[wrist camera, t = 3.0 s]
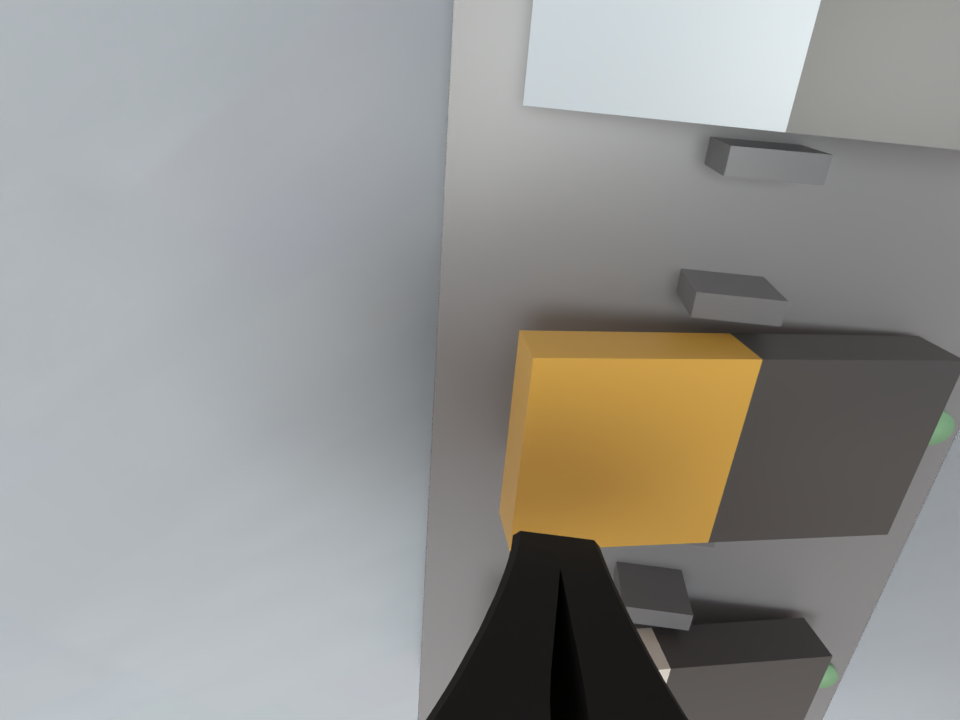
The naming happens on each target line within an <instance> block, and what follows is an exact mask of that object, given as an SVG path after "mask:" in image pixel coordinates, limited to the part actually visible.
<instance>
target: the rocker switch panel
mask: <svg viewBox="0 0 960 720" xmlns="http://www.w3.org/2000/svg"><path fill="white" fill-rule="evenodd" d="M532 7H533V0H454V10H453V30H452V50H451V69H450V89H449V109H448V129H447V149H446V169H445V189H444V208H443V228H442V248H441V268H440V288H439V308H438V328H437V347H436V367H435V387H434V407H433V427H432V447H431V467H430V486H429V506H428V526H427V546H426V566H425V586H424V606H423V625H422V645H421V665H420V685H419V705H418V720H426V719H427V717H428V716H429V714H430V713H431V711H432V710H433V708H434V707H435V705H436V703H437V702H438V700H439V699H440V697H441V695H442V694H443V692H444V691H445V689H446V687H447V686H448V684H449V682H450V681H451V679H452V677H453V676H454V674H455V672H456V671H457V669H458V667H459V665H460V663H461V662H462V660H463V658H464V656H465V654H466V652H467V651H468V649H469V647H470V645H471V643H472V642H473V640H474V638H475V636H476V634H477V632H478V630H479V628H480V626H481V624H482V622H483V620H484V618H485V616H486V613H487V611H488V609H489V607H490V605H491V603H492V600H493V598H494V596H495V594H496V592H497V589H498V586H499V584H500V581H501V579H502V576H503V573H504V571H505V568H506V565H507V562H508V558H509V554H510V551H509V548H508V544H507V540H506V536H505V533H504V529H503V525H502V521H501V517H500V513H499V509H500V500H501V491H502V482H503V473H504V464H505V455H506V446H507V437H508V428H509V419H510V410H511V401H512V392H513V383H514V374H515V365H516V356H517V347H518V338H519V330H528V331H599V332H671V333H742V334H814V335H885V336H920V337H921V338H923V339H925V340H927V341H929V342H931V343H933V344H935V345H937V346H939V347H941V348H942V349H944V350H946V351H948V352H950V353H952V354H954V355H956V356H958V357H960V150H953V149H943V148H934V147H924V146H914V145H904V144H895V143H885V142H875V141H865V140H855V139H846V138H836V137H826V136H816V135H807V134H797V133H787V132H777V131H768V130H758V129H748V128H738V127H729V126H719V125H709V124H699V123H689V122H680V121H670V120H660V119H650V118H641V117H631V116H621V115H611V114H602V113H592V112H582V111H572V110H563V109H553V108H543V107H533V106H523V100H524V89H525V79H526V69H527V59H528V48H529V38H530V28H531V18H532ZM959 428H960V375H959V378H958V380H957V382H956V384H955V386H954V389H953V391H952V393H951V395H950V397H949V400H948V402H947V404H946V406H945V409H944V411H943V413H942V415H941V417H940V420H939V422H938V424H937V426H936V429H935V431H934V433H933V435H932V437H931V440H930V442H929V444H928V446H927V448H926V451H925V453H924V455H923V457H922V460H921V462H920V464H919V466H918V468H917V471H916V473H915V475H914V477H913V480H912V482H911V484H910V486H909V488H908V491H907V493H906V495H905V497H904V499H903V502H902V504H901V506H900V508H899V511H898V513H897V515H896V517H895V519H894V522H893V524H892V526H891V528H890V530H889V533H888V535H869V536H846V537H823V538H801V539H778V540H755V541H732V542H709V543H686V544H663V545H641V546H618V547H600V549H601V552H602V555H603V557H604V560H605V562H606V565H607V567H608V570H609V572H610V574H611V577H612V579H613V581H614V584H615V586H616V588H617V590H618V592H619V595H620V597H621V599H622V601H623V603H624V605H625V607H626V609H627V611H628V613H629V616H630V618H631V620H632V622H633V624H634V625H635V627H636V629H639V628H654V627H665V628H672V629H680V630H687V631H689V628H690V625H699V624H714V623H729V622H744V621H759V620H775V619H790V618H804V619H805V620H806V621H807V623H808V624H809V625H810V627H811V628H812V629H813V631H814V632H815V633H816V635H817V636H818V637H819V638H820V640H821V641H822V642H823V644H824V645H825V646H826V648H827V649H828V650H829V652H830V653H831V654H832V656H833V657H832V659H831V661H830V663H829V666H828V668H827V670H826V672H825V675H824V677H823V679H822V681H821V683H820V686H819V688H818V690H817V692H816V695H815V697H814V699H813V701H812V703H811V706H810V708H809V710H808V712H807V714H806V717H805V719H804V720H822V719H823V717H824V715H825V713H826V711H827V709H828V706H829V704H830V702H831V700H832V698H833V696H834V694H835V692H836V689H837V687H838V685H839V683H840V681H841V679H842V677H843V675H844V672H845V670H846V668H847V666H848V664H849V662H850V660H851V658H852V655H853V653H854V651H855V649H856V647H857V645H858V643H859V641H860V638H861V636H862V634H863V632H864V630H865V628H866V626H867V624H868V621H869V619H870V617H871V615H872V613H873V611H874V609H875V606H876V604H877V602H878V600H879V598H880V596H881V594H882V592H883V589H884V587H885V585H886V583H887V581H888V579H889V577H890V575H891V572H892V570H893V568H894V566H895V564H896V562H897V560H898V558H899V555H900V553H901V551H902V549H903V547H904V545H905V543H906V541H907V538H908V536H909V534H910V532H911V530H912V528H913V526H914V524H915V521H916V519H917V517H918V515H919V513H920V511H921V509H922V506H923V504H924V502H925V500H926V498H927V496H928V494H929V492H930V489H931V487H932V485H933V483H934V481H935V479H936V477H937V475H938V472H939V470H940V468H941V466H942V464H943V462H944V460H945V458H946V455H947V453H948V451H949V449H950V447H951V445H952V443H953V441H954V438H955V436H956V434H957V432H958V430H959Z"/></svg>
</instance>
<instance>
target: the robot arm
mask: <svg viewBox="0 0 960 720" xmlns="http://www.w3.org/2000/svg"><path fill="white" fill-rule="evenodd" d="M426 720H688V718H687V717H686V715H685V713H684V712H683V710H682V709H681V707H680V705H679V704H678V702H677V700H676V699H675V697H674V695H673V694H672V692H671V690H670V689H669V687H668V685H667V684H666V682H665V680H664V679H663V677H662V675H661V673H660V672H659V670H658V668H657V666H656V665H655V663H654V661H653V659H652V657H651V656H650V654H649V652H648V650H647V648H646V646H645V644H644V642H643V641H642V639H641V637H640V635H639V633H638V631H637V629H636V627H635V625H634V624H633V622H632V620H631V618H630V616H629V613H628V611H627V609H626V607H625V605H624V603H623V601H622V599H621V597H620V595H619V592H618V590H617V588H616V586H615V584H614V581H613V579H612V577H611V574H610V572H609V570H608V567H607V565H606V562H605V560H604V557H603V555H602V552H601V549H600V546H599V545H598V544H597V543H596V542H595V540H590V539H582V538H574V537H566V536H558V535H550V534H542V533H534V532H527V531H519V532H517V533H516V534H514V535H513V538H512V546H511V550H510V554H509V558H508V562H507V565H506V568H505V571H504V573H503V576H502V579H501V581H500V584H499V586H498V589H497V592H496V594H495V596H494V598H493V600H492V603H491V605H490V607H489V609H488V611H487V613H486V616H485V618H484V620H483V622H482V624H481V626H480V628H479V630H478V632H477V634H476V636H475V638H474V640H473V642H472V643H471V645H470V647H469V649H468V651H467V652H466V654H465V656H464V658H463V660H462V662H461V663H460V665H459V667H458V669H457V671H456V672H455V674H454V676H453V677H452V679H451V681H450V682H449V684H448V686H447V687H446V689H445V691H444V692H443V694H442V695H441V697H440V699H439V700H438V702H437V703H436V705H435V707H434V708H433V710H432V711H431V713H430V714H429V716H428V717H427V719H426Z"/></svg>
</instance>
